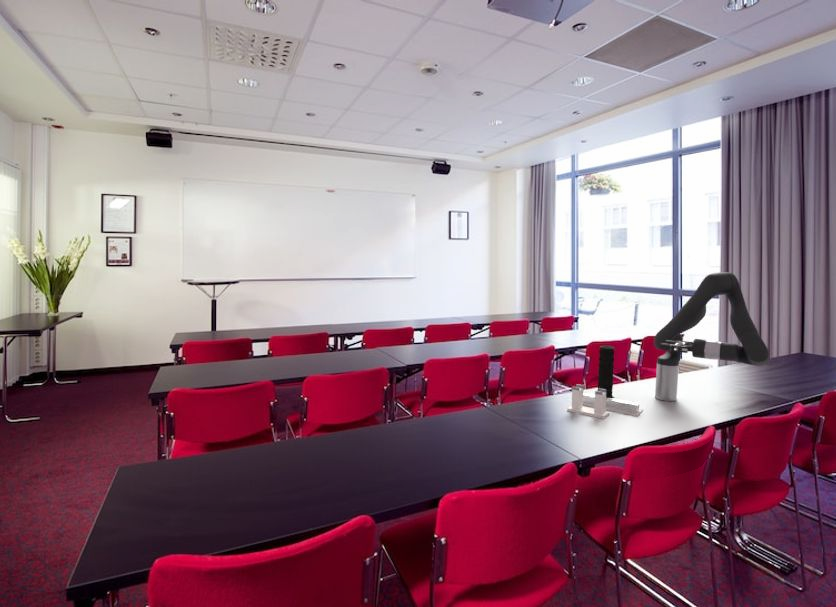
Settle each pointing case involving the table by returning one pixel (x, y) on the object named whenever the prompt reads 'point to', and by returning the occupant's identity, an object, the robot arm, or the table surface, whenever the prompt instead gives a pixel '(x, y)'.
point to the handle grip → (606, 369)
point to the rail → (614, 403)
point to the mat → (616, 409)
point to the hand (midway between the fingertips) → (662, 344)
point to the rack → (578, 407)
